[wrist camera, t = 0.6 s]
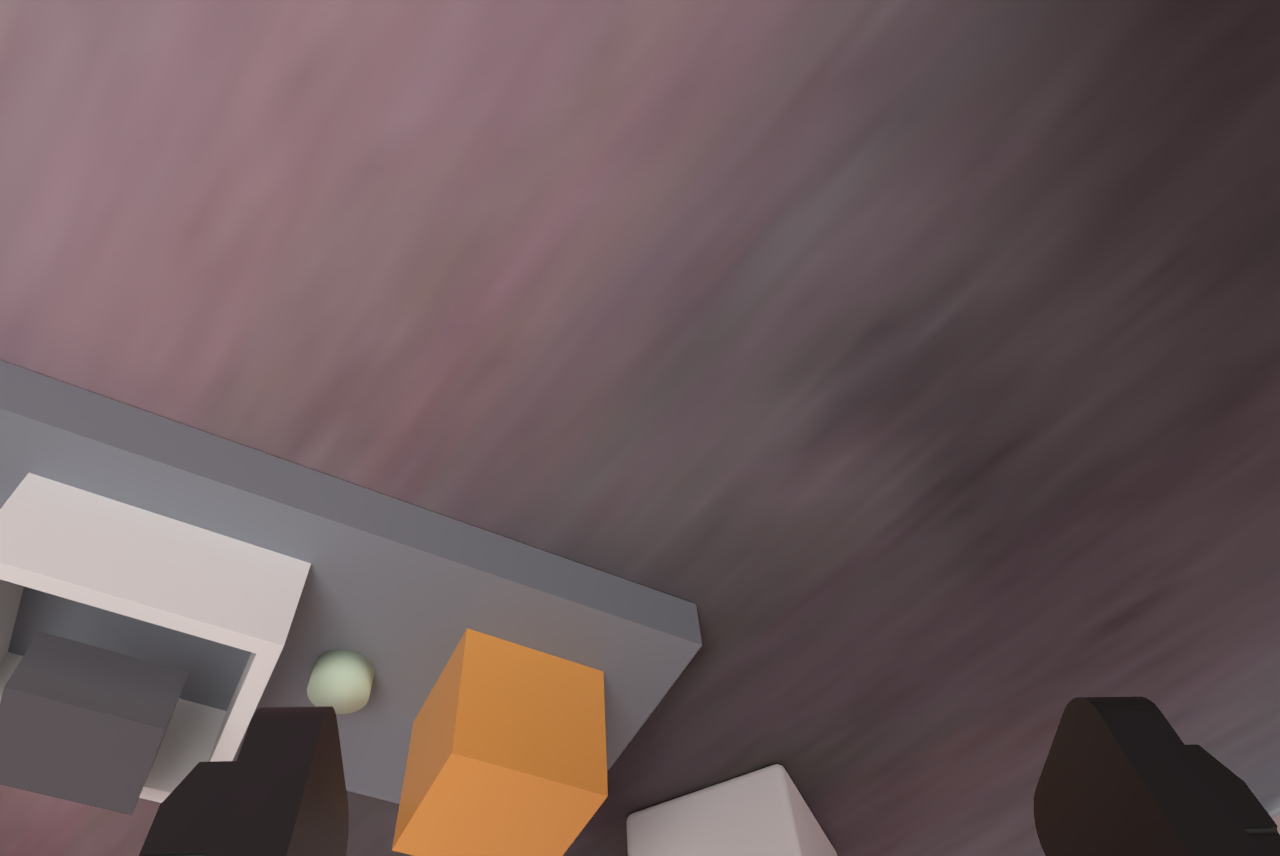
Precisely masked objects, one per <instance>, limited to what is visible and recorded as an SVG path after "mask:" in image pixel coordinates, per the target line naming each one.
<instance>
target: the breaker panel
mask: <svg viewBox="0 0 1280 856" xmlns="http://www.w3.org/2000/svg"><path fill="white" fill-rule="evenodd" d="M467 628H468V629H471V630H474V631H478V632H481V633H484V634H487V635H490V636H493V637H496V638H500V639H503V640H506V641H509V642H512V643H515V644H518V645H522V646H525V647H528V648H531V649H534V650H537V651H540V652H544V653H547V654H550V655H553V656H556V657H559V658H562V659H566V660H569V661H572V662H575V663H578V664H581V665H585V666H588V667H591V668H594V669H597V670H600V671H603V672H604V701H605V729H606V757H607V772H608V770H609V769H610V768H611V766H612V765H613V764H614V762H615V761H616V760H617V758H618V757H619V756H620V754H621V753H622V752H623V750H624V749H625V748H626V746H627V745H628V744H629V742H630V741H631V740H632V738H633V737H634V736H635V734H636V733H637V732H638V730H639V729H640V728H641V726H642V725H643V724H644V722H645V721H646V720H647V718H648V717H649V716H650V714H651V713H652V712H653V710H654V709H655V708H656V706H657V705H658V704H659V702H660V701H661V700H662V698H663V697H664V696H665V694H666V693H667V692H668V690H669V689H670V688H671V686H672V685H673V684H674V682H675V681H676V680H677V678H678V677H679V676H680V674H681V673H682V671H683V670H684V669H685V667H686V666H687V665H688V663H689V662H690V661H691V659H692V658H693V657H694V655H695V654H696V653H697V651H698V650H699V649H700V647H701V646H702V641H701V634H700V628H699V621H698V614H697V608H696V604H694V603H691V602H688V601H685V600H683V599H680V598H677V597H674V596H671V595H668V594H665V593H663V592H660V591H657V590H654V589H651V588H648V587H646V586H643V585H640V584H637V583H634V582H631V581H628V580H626V579H623V578H620V577H617V576H614V575H611V574H608V573H606V572H603V571H600V570H597V569H594V568H591V567H589V566H586V565H583V564H580V563H577V562H574V561H571V560H569V559H566V558H563V557H560V556H557V555H554V554H551V553H549V552H546V551H543V550H540V549H537V548H534V547H532V546H529V545H526V544H523V543H520V542H517V541H514V540H512V539H509V538H506V537H503V536H500V535H497V534H494V533H492V532H489V531H486V530H483V529H480V528H477V527H474V526H472V525H469V524H466V523H463V522H460V521H457V520H455V519H452V518H449V517H446V516H443V515H440V514H437V513H435V512H432V511H429V510H426V509H423V508H420V507H417V506H415V505H412V504H409V503H406V502H403V501H400V500H398V499H395V498H392V497H389V496H386V495H383V494H380V493H378V492H375V491H372V490H369V489H366V488H363V487H360V486H358V485H355V484H352V483H349V482H346V481H343V480H341V479H338V478H335V477H332V476H329V475H326V474H323V473H321V472H318V471H315V470H312V469H309V468H306V467H303V466H301V465H298V464H295V463H292V462H289V461H286V460H284V459H281V458H278V457H275V456H272V455H269V454H266V453H264V452H261V451H258V450H255V449H252V448H249V447H246V446H244V445H241V444H238V443H235V442H232V441H229V440H226V439H224V438H221V437H218V436H215V435H212V434H209V433H207V432H204V431H201V430H198V429H195V428H192V427H189V426H187V425H184V424H181V423H178V422H175V421H172V420H169V419H167V418H164V417H161V416H158V415H155V414H152V413H150V412H147V411H144V410H141V409H138V408H135V407H132V406H130V405H127V404H124V403H121V402H118V401H115V400H112V399H110V398H107V397H104V396H101V395H98V394H95V393H93V392H90V391H87V390H84V389H81V388H78V387H75V386H73V385H70V384H67V383H64V382H61V381H58V380H55V379H53V378H50V377H47V376H44V375H41V374H38V373H35V372H33V371H30V370H27V369H24V368H21V367H18V366H16V365H13V364H10V363H7V362H4V361H1V360H0V701H1V697H2V694H3V690H4V687H5V685H6V683H7V682H8V680H9V679H10V677H11V675H12V674H13V672H14V671H15V669H16V667H17V666H18V664H19V662H20V661H21V659H22V658H23V656H24V654H25V653H26V651H27V650H28V648H29V646H30V645H31V643H32V642H33V640H34V638H35V637H36V635H37V634H38V632H39V631H41V632H45V633H48V634H52V635H55V636H59V637H63V638H66V639H70V640H73V641H77V642H80V643H84V644H88V645H91V646H95V647H98V648H102V649H106V650H109V651H113V652H116V653H120V654H123V655H127V656H131V657H134V658H138V659H141V660H145V661H149V662H152V663H156V664H159V665H163V666H166V667H170V668H174V669H177V670H181V671H184V672H188V673H189V674H188V676H187V679H186V682H185V684H184V687H183V689H182V692H181V695H180V697H179V700H178V702H177V705H176V707H175V710H174V713H173V715H172V718H171V720H170V723H169V725H168V728H167V731H166V733H165V736H164V738H163V741H162V743H161V746H160V749H159V751H158V754H157V756H156V759H155V761H154V764H153V766H152V768H151V771H150V773H149V775H148V778H147V780H146V782H145V785H144V787H143V790H142V792H141V794H140V797H139V798H143V799H147V800H151V801H155V802H160V803H162V802H163V801H164V800H165V799H166V798H167V797H168V796H169V795H170V794H171V792H172V791H173V790H174V789H175V788H176V787H177V786H178V785H179V784H180V783H181V781H182V780H183V779H184V778H185V777H186V776H187V775H188V774H189V773H190V772H191V771H192V769H193V768H194V767H195V766H196V765H197V764H198V763H199V762H214V761H237V758H238V755H239V753H240V750H241V747H242V744H243V741H244V738H245V736H246V733H247V730H248V727H249V724H250V722H251V719H252V717H253V715H254V713H255V712H256V710H257V709H258V708H260V707H323V706H332V707H333V708H334V710H335V713H336V717H337V723H338V731H339V739H340V746H341V754H342V762H343V769H344V777H345V785H346V791H350V792H354V793H358V794H362V795H366V796H370V797H374V798H377V799H381V800H385V801H389V802H393V803H397V804H400V799H401V793H402V787H403V781H404V775H405V769H406V763H407V757H408V751H409V745H410V739H411V733H412V727H413V722H414V720H415V718H416V717H417V715H418V713H419V711H420V710H421V708H422V706H423V704H424V703H425V701H426V699H427V697H428V696H429V694H430V692H431V690H432V689H433V687H434V685H435V683H436V682H437V680H438V678H439V676H440V675H441V673H442V671H443V669H444V668H445V666H446V664H447V662H448V661H449V659H450V657H451V656H452V654H453V652H454V650H455V649H456V647H457V645H458V643H459V642H460V640H461V638H462V636H463V635H464V633H465V631H466V629H467Z"/></svg>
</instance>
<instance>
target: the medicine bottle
mask: <svg viewBox="0 0 1280 856" xmlns="http://www.w3.org/2000/svg"><path fill="white" fill-rule="evenodd" d="M626 827H627V846H628V856H837V853H836V851H835V849H834V848H833V846H832V845H831V843H830V841H829V840H828V838H827V837H826V835H825V833H824V832H823V830H822V828H821V827H820V825H819V824H818V822H817V820H816V819H815V817H814V815H813V814H812V812H811V811H810V809H809V807H808V806H807V804H806V802H805V801H804V799H803V798H802V796H801V794H800V793H799V791H798V789H797V788H796V786H795V785H794V783H793V781H792V780H791V778H790V776H789V775H788V773H787V772H786V770H785V768H784V767H783V766H782V765H779V764H774V765H771V766H768V767H765V768H763V769H760V770H757V771H754V772H751V773H748V774H745V775H742V776H739V777H736V778H733V779H730V780H728V781H725V782H722V783H719V784H716V785H713V786H710V787H707V788H704V789H701V790H698V791H696V792H693V793H690V794H687V795H684V796H681V797H678V798H675V799H672V800H669V801H666V802H663V803H661V804H658V805H655V806H652V807H649V808H646V809H643V810H640V811H637V812H634V813H632V814H630V815H629V816H628V818H627V821H626Z"/></svg>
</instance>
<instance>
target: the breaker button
mask: <svg viewBox="0 0 1280 856" xmlns="http://www.w3.org/2000/svg"><path fill="white" fill-rule="evenodd" d="M188 674H189V673H188V672H184V671H181V670H177V669H174V668H170V667H166V666H163V665H159V664H156V663H152V662H149V661H145V660H141V659H138V658H134V657H131V656H127V655H123V654H120V653H116V652H113V651H109V650H106V649H102V648H98V647H95V646H91V645H88V644H84V643H80V642H77V641H73V640H70V639H66V638H63V637H59V636H55V635H52V634H48V633H45V632H41V631H39V632H38V634H37V635H36V637H35V638H34V640H33V642H32V643H31V645H30V646H29V648H28V650H27V651H26V653H25V654H24V656H23V658H22V659H21V661H20V662H19V664H18V666H17V667H16V669H15V671H14V672H13V674H12V675H11V677H10V679H9V680H8V682H7V683H6V685H5V687H4V690H3V694H2V697H1V701H0V784H1V785H5V786H9V787H13V788H18V789H22V790H26V791H31V792H35V793H39V794H43V795H48V796H52V797H56V798H61V799H65V800H69V801H73V802H78V803H82V804H86V805H90V806H95V807H99V808H103V809H108V810H112V811H116V812H120V813H125V814H129V815H132V813H133V811H134V808H135V806H136V804H137V801H138V799H139V797H140V794H141V792H142V790H143V787H144V785H145V782H146V780H147V778H148V775H149V773H150V771H151V768H152V766H153V764H154V761H155V759H156V756H157V754H158V751H159V749H160V746H161V743H162V741H163V738H164V736H165V733H166V731H167V728H168V725H169V723H170V720H171V718H172V715H173V713H174V710H175V707H176V705H177V702H178V700H179V697H180V695H181V692H182V689H183V687H184V684H185V682H186V679H187V676H188Z"/></svg>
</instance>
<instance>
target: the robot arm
mask: <svg viewBox="0 0 1280 856" xmlns="http://www.w3.org/2000/svg"><path fill="white" fill-rule="evenodd" d="M1034 818H1035V825H1036V830H1037V834H1038V838H1039V840H1040V843H1041V846H1042V848H1043V851H1044V853H1045V855H1046V856H1280V835H1279V833H1278V831H1277V825H1276V824H1275V822H1274V821H1273V820H1272V818H1271V817H1270V816H1269V814H1268V813H1267V812H1266V810H1265V809H1264V808H1263V806H1262V805H1261V804H1260V802H1259V801H1258V800H1257V798H1256V797H1255V796H1254V794H1253V793H1252V792H1251V790H1250V789H1249V788H1248V786H1247V785H1246V784H1245V782H1244V781H1242V780H1241V779H1240V778H1239V777H1237V776H1236V775H1235V774H1234V773H1233V772H1231V771H1230V770H1229V769H1228V768H1226V767H1225V766H1224V765H1223V764H1221V763H1220V762H1219V761H1218V760H1216V759H1215V758H1214V757H1213V756H1212V755H1210V754H1209V753H1208V752H1207V751H1205V750H1204V749H1203V748H1202V747H1200V746H1199V745H1184V743H1183V742H1182V741H1181V739H1180V738H1179V736H1178V735H1177V734H1176V732H1175V731H1174V729H1173V728H1172V727H1171V725H1170V724H1169V722H1168V721H1167V720H1166V718H1165V717H1164V715H1163V714H1162V713H1161V711H1160V710H1159V709H1158V708H1157V706H1156V705H1155V704H1154V703H1153V702H1151V701H1150V700H1148V699H1147V698H1144V697H1088V698H1074V699H1072V700H1071V701H1070V702H1069V703H1068V704H1067V706H1066V708H1065V710H1064V713H1063V715H1062V718H1061V721H1060V724H1059V726H1058V729H1057V732H1056V735H1055V737H1054V740H1053V743H1052V746H1051V749H1050V751H1049V754H1048V757H1047V760H1046V762H1045V765H1044V768H1043V771H1042V773H1041V776H1040V779H1039V782H1038V784H1037V787H1036V791H1035V797H1034ZM347 840H348V800H347V792H346V785H345V777H344V769H343V762H342V754H341V746H340V739H339V731H338V723H337V717H336V713H335V710H334V708H333V707H332V706H323V707H260V708H258V709H257V710H256V712H255V713H254V715H253V717H252V719H251V722H250V724H249V727H248V730H247V733H246V736H245V738H244V741H243V744H242V747H241V750H240V753H239V755H238V758H237V761H214V762H199V763H198V764H197V765H196V766H195V767H194V768H193V769H192V771H191V772H190V773H189V774H188V775H187V776H186V777H185V778H184V779H183V780H182V781H181V783H180V784H179V785H178V786H177V787H176V788H175V789H174V790H173V791H172V792H171V794H170V795H169V796H168V797H167V798H166V799H165V800H164V801H163V802H162V803H161V804H160V806H159V809H158V811H157V814H156V816H155V818H154V821H153V823H152V826H151V828H150V830H149V833H148V835H147V838H146V840H145V842H144V845H143V847H142V850H141V852H140V854H139V856H346V850H347Z"/></svg>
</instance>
